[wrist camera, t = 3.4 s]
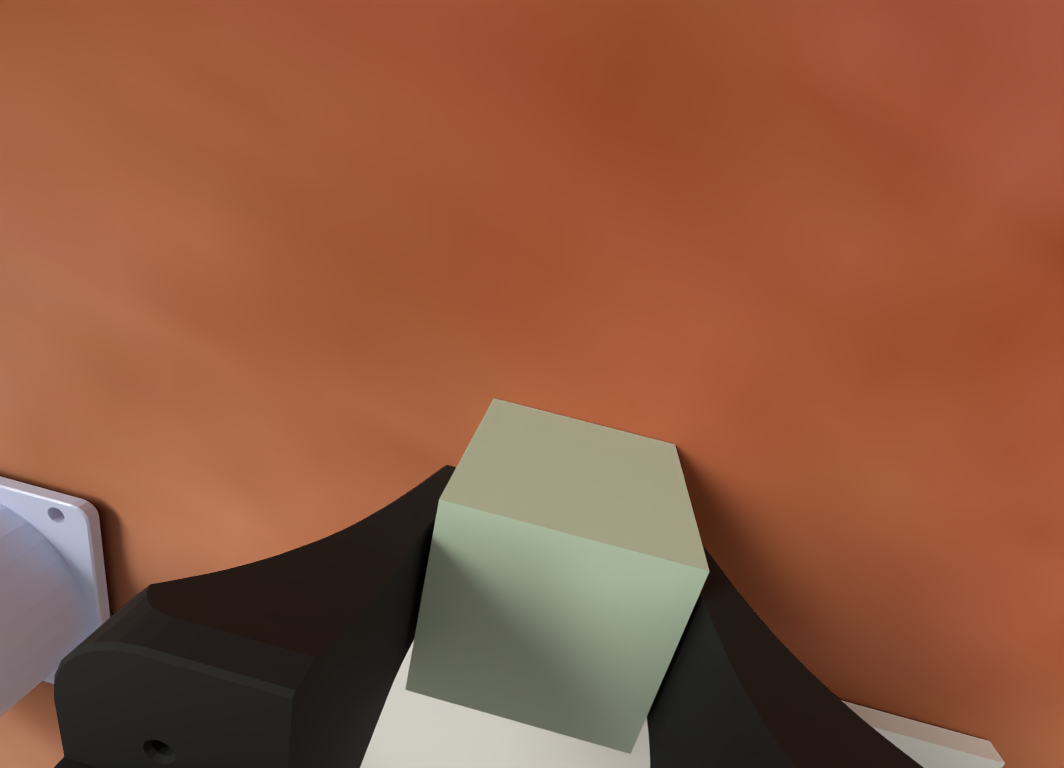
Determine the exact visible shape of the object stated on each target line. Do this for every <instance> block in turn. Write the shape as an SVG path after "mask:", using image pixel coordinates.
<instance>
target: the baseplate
mask: <svg viewBox="0 0 1064 768" xmlns="http://www.w3.org/2000/svg"><path fill="white" fill-rule="evenodd" d="M413 643H414V641H413ZM413 643H412V645H411V647H410V649H409V650H408V652H407V654H406V656H405V658H404V660H403V662H402V664H401V667H400V669H399V671H398V673H397V675H396V678H395V680H394V682H393V684H392V687H391V689H390V692H389V694H388V697H387V700H386V702H385V705H384V707H383V710H382V712H381V715H380V717H379V720H378V722H377V725H376V727H375V730H374V733H373V735H372V738H371V740H370V743H369V746H368V748H367V751H366V753H365V756H364V759H363V761H362V764H361V766H360V768H650V749H649V734H648V724H647V717H646V719H645V722H644V724H643V726H642V729H641V731H640V733H639V736H638V738H637V740H636V742H635V745H634V747H633V749H632V752H631V754H629V753H625V752H622V751H618V750H615V749H611V748H608V747H604V746H601V745H597V744H594V743H590V742H587V741H583V740H580V739H576V738H573V737H569V736H566V735H562V734H559V733H555V732H552V731H548V730H544V729H541V728H537V727H534V726H530V725H527V724H523V723H520V722H516V721H513V720H509V719H506V718H502V717H499V716H495V715H492V714H488V713H485V712H481V711H478V710H474V709H471V708H467V707H464V706H460V705H457V704H453V703H450V702H446V701H443V700H439V699H436V698H432V697H429V696H425V695H422V694H418V693H415V692H411V691H408V690H405V688H406V683H407V677H408V671H409V666H410V660H411V655H412V649H413ZM841 701H842V700H841ZM842 702H844V703H845V704H846V705H847V706H848V707H849V708H850V709H852V710H853V711H854V712H855V713H856V714H857V715H858V716H859V717H861V718H862V719H863V720H864V721H865V722H867V723H868V724H869V725H870V726H872V727H873V728H874V729H875V730H876V731H878V732H879V733H880V734H881V735H882V736H884V737H885V738H886V739H887V740H889V741H890V742H891V743H893V744H894V745H895V746H896V747H898V748H899V749H900V750H902V751H903V752H904V753H905V754H907V755H908V756H909V757H911V758H912V759H913V760H915V761H916V762H917V763H918V764H920V765H921V766H922V767H924V768H1002V767H1003V766H1004V764H1005V762H1004V761H1003V759H1002V758H1001V757H1000V755H999V754H998V752H997V751H996V749H995V748H994V746H993V745H992V744H991V742H990V741H988V740H984V739H980V738H977V737H973V736H969V735H966V734H962V733H958V732H955V731H951V730H947V729H944V728H940V727H937V726H933V725H929V724H926V723H922V722H918V721H915V720H911V719H907V718H904V717H900V716H896V715H893V714H889V713H885V712H882V711H878V710H875V709H871V708H867V707H864V706H860V705H856V704H853V703H849V702H845V701H842Z"/></svg>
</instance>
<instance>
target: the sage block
mask: <svg viewBox="0 0 1064 768" xmlns="http://www.w3.org/2000/svg"><path fill="white" fill-rule="evenodd" d="M708 574H709V568H708V564H707V560H706V557H705V553H704V549H703V546H702V542H701V538H700V534H699V531H698V527H697V523H696V520H695V516H694V512H693V509H692V505H691V501H690V498H689V494H688V490H687V487H686V483H685V479H684V476H683V472H682V468H681V465H680V461H679V457H678V453H677V450H676V446H675V444H672V443H668V442H664V441H660V440H656V439H652V438H648V437H644V436H640V435H636V434H632V433H629V432H625V431H621V430H617V429H613V428H609V427H605V426H601V425H597V424H593V423H589V422H585V421H581V420H578V419H574V418H570V417H566V416H562V415H558V414H554V413H550V412H546V411H542V410H538V409H534V408H531V407H527V406H523V405H519V404H515V403H511V402H507V401H503V400H499V399H495V398H494V399H493V401H492V403H491V405H490V406H489V408H488V410H487V412H486V414H485V416H484V417H483V419H482V421H481V423H480V425H479V427H478V429H477V430H476V432H475V434H474V436H473V438H472V440H471V441H470V443H469V445H468V447H467V449H466V451H465V452H464V454H463V456H462V458H461V460H460V462H459V464H458V465H457V467H456V469H455V471H454V473H453V475H452V476H451V478H450V480H449V482H448V484H447V486H446V488H445V489H444V491H443V493H442V495H441V497H440V499H439V503H438V508H437V514H436V519H435V525H434V531H433V536H432V542H431V548H430V553H429V559H428V565H427V570H426V576H425V581H424V587H423V593H422V598H421V604H420V610H419V615H418V621H417V626H416V632H415V638H414V643H413V649H412V655H411V660H410V666H409V671H408V677H407V683H406V688H405V690H408V691H411V692H415V693H418V694H422V695H425V696H429V697H432V698H436V699H439V700H443V701H446V702H450V703H453V704H457V705H460V706H464V707H467V708H471V709H474V710H478V711H481V712H485V713H488V714H492V715H495V716H499V717H502V718H506V719H509V720H513V721H516V722H520V723H523V724H527V725H530V726H534V727H537V728H541V729H544V730H548V731H552V732H555V733H559V734H562V735H566V736H569V737H573V738H576V739H580V740H583V741H587V742H590V743H594V744H597V745H601V746H604V747H608V748H611V749H615V750H618V751H622V752H625V753H629V754H631V752H632V749H633V747H634V745H635V742H636V740H637V738H638V736H639V733H640V731H641V729H642V726H643V724H644V722H645V719H646V717H647V715H648V712H649V710H650V708H651V705H652V703H653V701H654V699H655V696H656V694H657V692H658V689H659V687H660V685H661V682H662V680H663V678H664V675H665V673H666V671H667V668H668V666H669V664H670V662H671V659H672V657H673V655H674V652H675V650H676V648H677V645H678V643H679V641H680V638H681V636H682V634H683V631H684V629H685V627H686V625H687V622H688V620H689V618H690V615H691V613H692V611H693V608H694V606H695V604H696V601H697V599H698V597H699V594H700V592H701V590H702V587H703V585H704V583H705V581H706V578H707V576H708Z"/></svg>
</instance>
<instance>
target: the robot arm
mask: <svg viewBox="0 0 1064 768" xmlns="http://www.w3.org/2000/svg"><path fill="white" fill-rule="evenodd" d="M455 469H456V467H453V466H449V465H446V466H445V467H443V468H441V469H440V470H438V471H437V472H436V473H434V474H433V475H432V476H430V477H429V478H428V479H426V480H425V481H423V482H422V483H421V484H419V485H418V486H416V487H415V488H414V489H412V490H411V491H409V492H408V493H406V494H404V495H403V496H401V497H400V498H398V499H397V500H395V501H394V502H392V503H391V504H389V505H387V506H386V507H384V508H382V509H381V510H379V511H377V512H375V513H374V514H372V515H370V516H368V517H367V518H365V519H363V520H361V521H359V522H358V523H356V524H354V525H352V526H350V527H348V528H346V529H344V530H342V531H339V532H337V533H335V534H333V535H330V536H328V537H326V538H323V539H321V540H319V541H316V542H313V543H310V544H308V545H305V546H302V547H299V548H297V549H294V550H291V551H288V552H285V553H283V554H280V555H277V556H274V557H270V558H267V559H264V560H260V561H257V562H253V563H250V564H246V565H242V566H238V567H234V568H231V569H227V570H222V571H218V572H214V573H209V574H204V575H199V576H194V577H188V578H183V579H178V580H173V581H168V582H162V583H156V584H151V585H149V586H148V587H147V588H145V589H144V590H143V591H142V592H140V593H139V594H138V595H136V596H135V597H134V598H133V599H131V600H130V601H129V602H127V603H126V604H125V605H124V606H123V607H121V608H120V609H119V610H118V611H117V612H116V613H115V614H113V615H112V616H111V617H110V611H109V602H108V593H107V584H106V575H105V566H104V557H103V548H102V539H101V530H100V521H99V514H98V511H97V509H96V508H95V507H94V505H92V504H91V503H90V502H88V501H86V500H84V499H81V498H77V497H73V496H70V495H66V494H62V493H59V492H55V491H52V490H48V489H44V488H41V487H37V486H33V485H30V484H26V483H22V482H19V481H15V480H11V479H8V478H4V477H1V476H0V717H1V716H2V715H3V714H5V713H6V712H7V711H8V710H9V709H10V708H12V707H13V706H14V705H15V704H16V703H17V702H18V701H20V700H21V699H22V698H23V697H24V696H25V695H27V694H28V693H29V692H30V691H31V690H32V689H33V688H35V687H36V686H37V685H38V684H39V683H40V682H41V681H44V682H48V683H51V684H54V700H55V706H56V711H57V717H58V723H59V728H60V734H61V739H62V745H63V751H64V756H65V757H64V758H63V759H62V760H61V761H60V762H59V763H58V764H57V765H56V766H55V767H54V768H360V766H361V764H362V761H363V759H364V756H365V753H366V751H367V748H368V746H369V743H370V740H371V738H372V735H373V733H374V730H375V727H376V725H377V722H378V720H379V717H380V715H381V712H382V710H383V707H384V705H385V702H386V700H387V697H388V694H389V692H390V689H391V687H392V684H393V682H394V680H395V678H396V675H397V673H398V671H399V669H400V667H401V664H402V662H403V660H404V658H405V656H406V654H407V652H408V650H409V649H410V647H411V645H412V643H413V641H414V638H415V632H416V626H417V621H418V615H419V610H420V604H421V598H422V593H423V587H424V581H425V576H426V570H427V565H428V559H429V553H430V548H431V542H432V536H433V531H434V525H435V519H436V514H437V508H438V503H439V499H440V497H441V495H442V493H443V491H444V489H445V488H446V486H447V484H448V482H449V480H450V478H451V476H452V475H453V473H454V471H455ZM702 546H703V544H702ZM703 549H704V553H705V557H706V560H707V564H708V568H709V574H708V576H707V578H706V581H705V583H704V585H703V587H702V590H701V592H700V594H699V597H698V599H697V601H696V604H695V606H694V608H693V611H692V613H691V615H690V618H689V620H688V622H687V625H686V627H685V629H684V631H683V634H682V636H681V638H680V641H679V643H678V645H677V648H676V650H675V652H674V655H673V657H672V659H671V662H670V664H669V666H668V668H667V671H666V673H665V675H664V678H663V680H662V682H661V685H660V687H659V689H658V692H657V694H656V696H655V699H654V701H653V703H652V705H651V708H650V710H649V712H648V715H647V724H648V734H649V749H650V768H924V767H922V766H921V765H920V764H918V763H917V762H916V761H915V760H913V759H912V758H911V757H909V756H908V755H907V754H905V753H904V752H903V751H902V750H900V749H899V748H898V747H896V746H895V745H894V744H893V743H891V742H890V741H889V740H887V739H886V738H885V737H884V736H882V735H881V734H880V733H879V732H878V731H876V730H875V729H874V728H873V727H872V726H870V725H869V724H868V723H867V722H865V721H864V720H863V719H862V718H861V717H859V716H858V715H857V714H856V713H855V712H854V711H853V710H852V709H850V708H849V707H848V706H847V705H846V704H845V703H844V702H842V701H841V700H840V699H839V698H838V697H837V696H836V695H835V694H833V693H832V692H831V691H830V690H829V689H828V688H827V687H826V686H825V685H824V684H822V683H821V682H820V681H819V680H818V679H817V678H816V677H815V676H814V675H813V674H812V673H811V672H810V671H809V670H808V669H807V668H806V667H805V666H804V665H803V664H802V663H801V662H800V661H799V660H798V659H797V658H796V657H795V656H794V655H793V654H792V653H791V652H790V651H789V650H788V649H787V648H786V647H785V646H784V645H783V644H782V643H781V641H780V640H779V639H778V638H777V637H776V636H775V635H774V634H773V633H772V632H771V630H770V629H769V628H768V627H767V626H766V625H765V623H764V622H763V621H762V620H761V619H760V618H759V617H758V615H757V614H756V613H755V612H754V611H753V610H752V608H751V607H750V606H749V605H748V603H747V602H746V601H745V600H744V598H743V597H742V596H741V595H740V593H739V592H738V591H737V590H736V588H735V587H734V586H733V584H732V583H731V582H730V581H729V579H728V578H727V577H726V575H725V574H724V573H723V571H722V570H721V569H720V567H719V566H718V565H717V563H716V562H715V561H714V559H713V558H712V557H711V555H710V554H709V552H708V551H707V550H706V548H705V547H704V546H703Z"/></svg>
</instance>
